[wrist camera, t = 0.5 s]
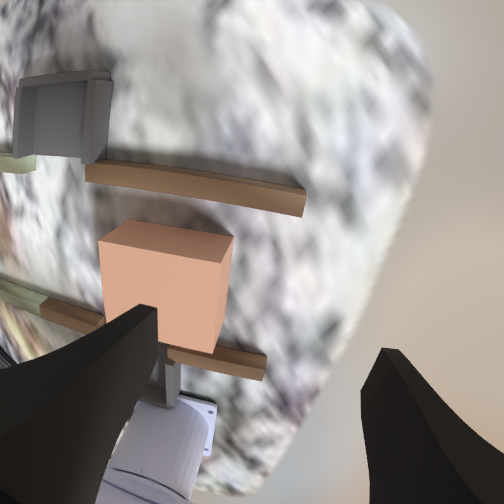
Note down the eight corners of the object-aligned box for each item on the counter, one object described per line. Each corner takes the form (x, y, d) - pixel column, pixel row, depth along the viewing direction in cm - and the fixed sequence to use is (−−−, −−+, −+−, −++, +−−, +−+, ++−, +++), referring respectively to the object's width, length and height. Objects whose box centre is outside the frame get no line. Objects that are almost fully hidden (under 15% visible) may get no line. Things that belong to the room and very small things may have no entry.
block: (225, 316, 22) (212, 353, 18) (132, 296, 22) (107, 327, 19) (234, 235, 20) (220, 263, 16) (130, 218, 20) (98, 240, 16)
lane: (264, 367, 23) (260, 391, 21) (-29, 274, 25) (-44, 284, 22) (305, 189, 18) (307, 200, 15) (-45, 151, 19) (-63, 157, 17)
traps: (180, 394, 26) (173, 411, 24) (57, 352, 26) (46, 364, 25) (207, 74, 16) (197, 69, 14) (35, 79, 16) (17, 79, 15)
